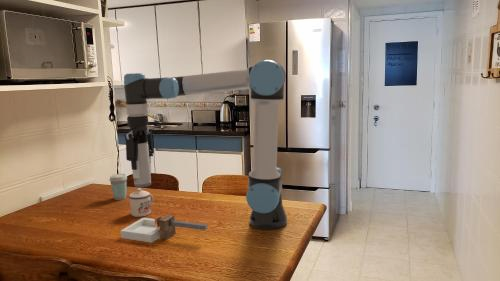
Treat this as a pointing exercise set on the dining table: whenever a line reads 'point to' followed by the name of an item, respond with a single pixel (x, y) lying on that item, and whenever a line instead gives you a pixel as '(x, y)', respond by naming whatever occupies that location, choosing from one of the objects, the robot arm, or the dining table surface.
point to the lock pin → (182, 224)
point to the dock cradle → (142, 231)
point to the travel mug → (143, 162)
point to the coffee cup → (119, 186)
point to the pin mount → (166, 227)
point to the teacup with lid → (140, 203)
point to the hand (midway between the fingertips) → (142, 175)
